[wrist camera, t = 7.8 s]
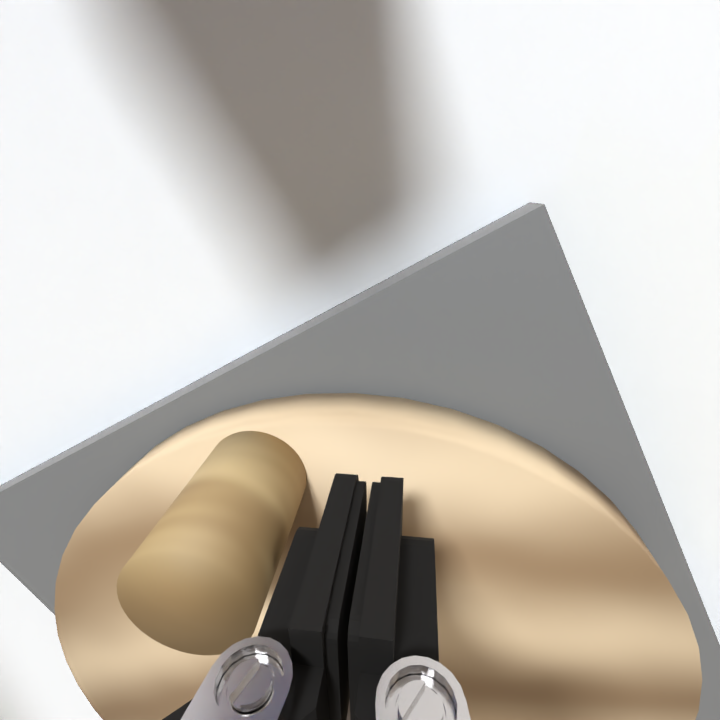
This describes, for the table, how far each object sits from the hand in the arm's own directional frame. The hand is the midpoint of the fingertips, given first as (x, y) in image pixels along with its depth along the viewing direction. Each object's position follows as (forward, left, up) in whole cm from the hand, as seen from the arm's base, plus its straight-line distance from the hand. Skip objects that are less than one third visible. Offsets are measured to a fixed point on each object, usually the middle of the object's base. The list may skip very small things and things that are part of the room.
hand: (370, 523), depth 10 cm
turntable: (-6, -9, -4) cm, 11 cm away
